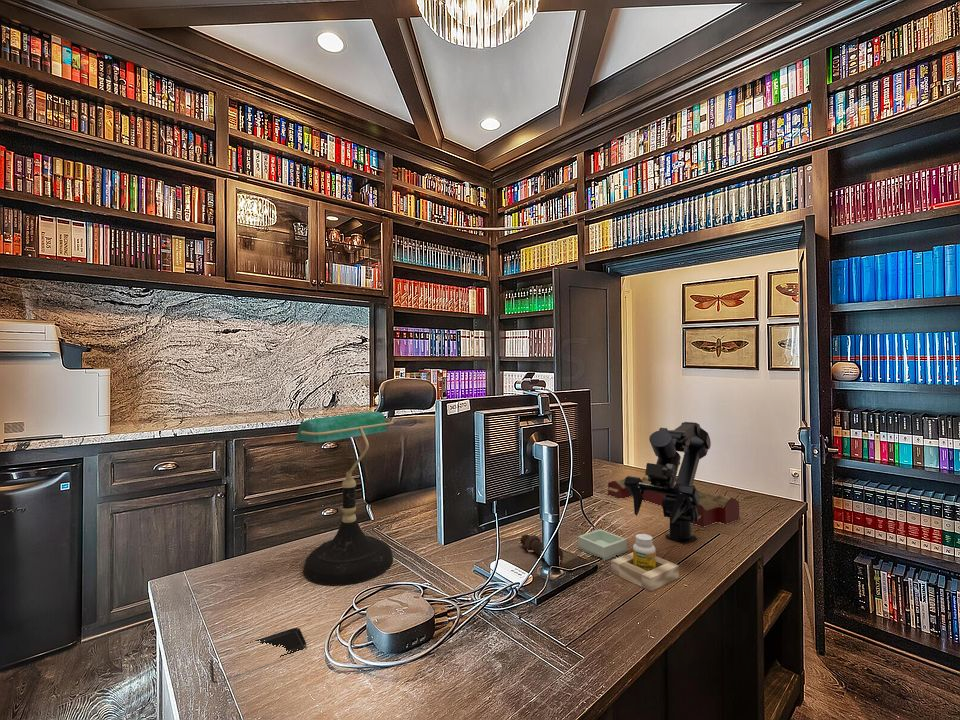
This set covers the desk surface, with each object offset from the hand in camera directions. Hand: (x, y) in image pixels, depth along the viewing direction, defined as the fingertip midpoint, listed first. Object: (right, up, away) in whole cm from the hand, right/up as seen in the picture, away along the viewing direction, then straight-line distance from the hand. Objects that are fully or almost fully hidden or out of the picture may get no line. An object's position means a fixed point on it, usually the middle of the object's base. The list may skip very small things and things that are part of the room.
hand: (653, 518), depth 114 cm
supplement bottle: (-4, -13, -5) cm, 14 cm away
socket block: (-4, -12, -5) cm, 14 cm away
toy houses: (+24, -13, +48) cm, 55 cm away
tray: (-11, -13, +10) cm, 19 cm away
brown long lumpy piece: (-29, -13, +7) cm, 32 cm away
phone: (-86, -13, -34) cm, 93 cm away
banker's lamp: (-80, -13, +3) cm, 81 cm away
